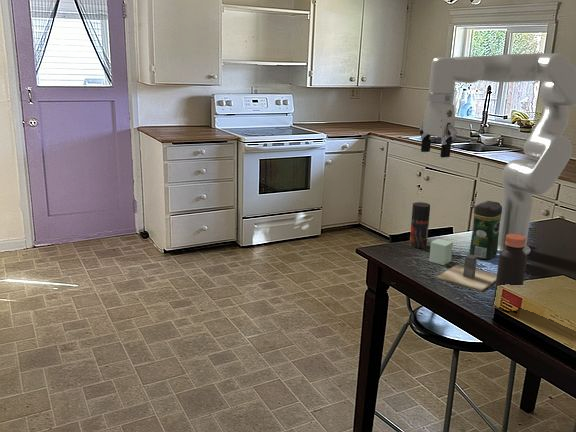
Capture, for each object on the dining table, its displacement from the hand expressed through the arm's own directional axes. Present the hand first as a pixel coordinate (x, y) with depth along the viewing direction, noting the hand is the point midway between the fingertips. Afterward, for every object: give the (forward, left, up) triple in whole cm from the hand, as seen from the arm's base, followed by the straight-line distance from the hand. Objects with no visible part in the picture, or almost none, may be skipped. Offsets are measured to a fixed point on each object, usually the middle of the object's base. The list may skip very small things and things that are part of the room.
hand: (434, 154), depth 176 cm
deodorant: (-9, -8, -35) cm, 37 cm away
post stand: (+7, +18, -35) cm, 40 cm away
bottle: (+19, +34, -35) cm, 52 cm away
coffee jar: (-15, +13, -35) cm, 40 cm away
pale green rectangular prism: (0, +5, -35) cm, 35 cm away
